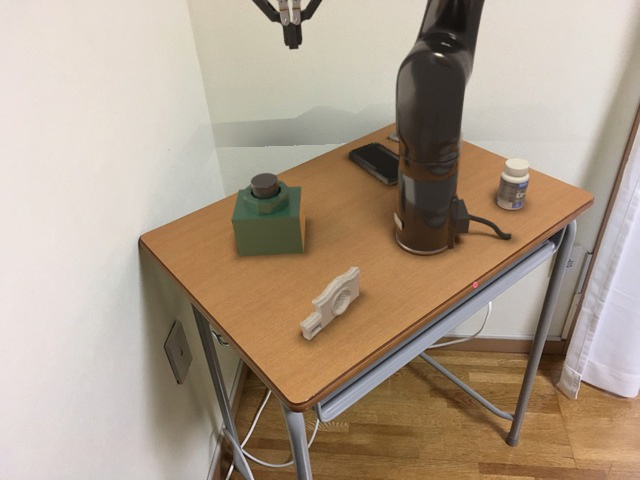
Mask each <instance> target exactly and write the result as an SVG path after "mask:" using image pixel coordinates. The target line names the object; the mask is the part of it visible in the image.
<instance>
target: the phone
mask: <svg viewBox="0 0 640 480" xmlns="http://www.w3.org/2000/svg"><path fill="white" fill-rule="evenodd" d="M348 158H349V159H350V160H351V161H352V162H354V163H355V164H357V165H358V166H360V167H361V168H363V169H364V170H365V171H367V172H368V173H369V174H371V175H372V176H374V177H375V178H376V179H377V180H378V181H380V182H382V183H383V184H384V185H387V186H394V185H396V184H398V160H399V154H397V153H395V152H394V151H393V150H391V149H389V148H387V147H386V146H384V145H383V144H381V143H380V142H371V143H367V144H365V145H362V146H359V147H357V148H354V149H351V150H349V152H348Z"/></svg>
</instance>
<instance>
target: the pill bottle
mask: <svg viewBox="0 0 640 480" xmlns="http://www.w3.org/2000/svg"><path fill="white" fill-rule="evenodd" d="M530 166H531V165H530V162H529V161H528V160H526V159H523V158H520V157H519V158H518V157H514V158H513V157H512V158H509V159H507V160H505V163H504V169H503V170H502V172H501V174H500V179H499V185H498V191H497V197H496V204H497V206H499V208H502V209H504V210H507V211H517V210H520V209H521V208H523V207H524V204H525V200H526V196H527V192H528V185H529V181H530V173H529V172H530Z"/></svg>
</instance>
